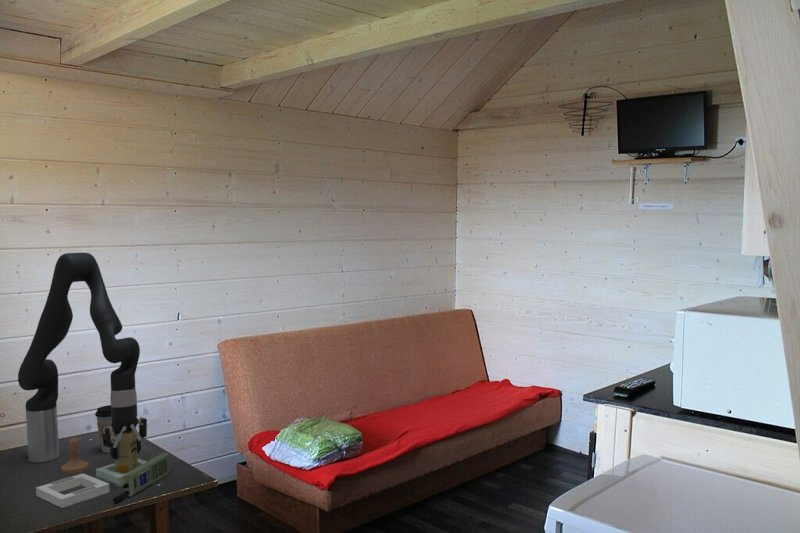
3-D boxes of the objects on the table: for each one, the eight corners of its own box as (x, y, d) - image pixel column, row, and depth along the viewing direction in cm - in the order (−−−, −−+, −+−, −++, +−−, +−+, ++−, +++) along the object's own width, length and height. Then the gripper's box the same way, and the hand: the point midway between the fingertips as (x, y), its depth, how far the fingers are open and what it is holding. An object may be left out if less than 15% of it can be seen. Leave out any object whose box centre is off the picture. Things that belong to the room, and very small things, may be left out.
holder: (36, 496, 200) (36, 486, 200) (83, 481, 211) (83, 472, 211) (61, 508, 191) (61, 498, 191) (109, 492, 202) (109, 482, 202)
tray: (96, 478, 213) (95, 469, 213) (134, 466, 224) (134, 457, 224) (118, 487, 206) (118, 477, 205) (157, 474, 216) (157, 465, 216)
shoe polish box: (138, 466, 217) (136, 428, 216) (130, 472, 212) (129, 433, 211) (122, 466, 217) (121, 428, 216) (115, 472, 212) (113, 433, 211)
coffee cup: (101, 446, 245) (99, 404, 244) (129, 445, 246) (127, 403, 245) (92, 455, 236) (90, 412, 235) (121, 453, 237) (119, 410, 236)
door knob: (59, 444, 217) (60, 437, 224) (60, 475, 217) (61, 467, 225) (87, 440, 220) (87, 434, 227) (88, 471, 220) (88, 463, 228)
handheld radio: (171, 473, 217) (120, 505, 193) (162, 473, 218) (110, 504, 194) (170, 452, 217) (118, 481, 193) (160, 452, 218) (108, 481, 194)
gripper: (138, 396, 221) (140, 447, 222) (95, 406, 210) (97, 459, 211) (151, 399, 217) (153, 451, 218) (108, 410, 205) (110, 464, 206)
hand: (126, 455), depth 214 cm, fingers closed on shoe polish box, 7 cm apart
